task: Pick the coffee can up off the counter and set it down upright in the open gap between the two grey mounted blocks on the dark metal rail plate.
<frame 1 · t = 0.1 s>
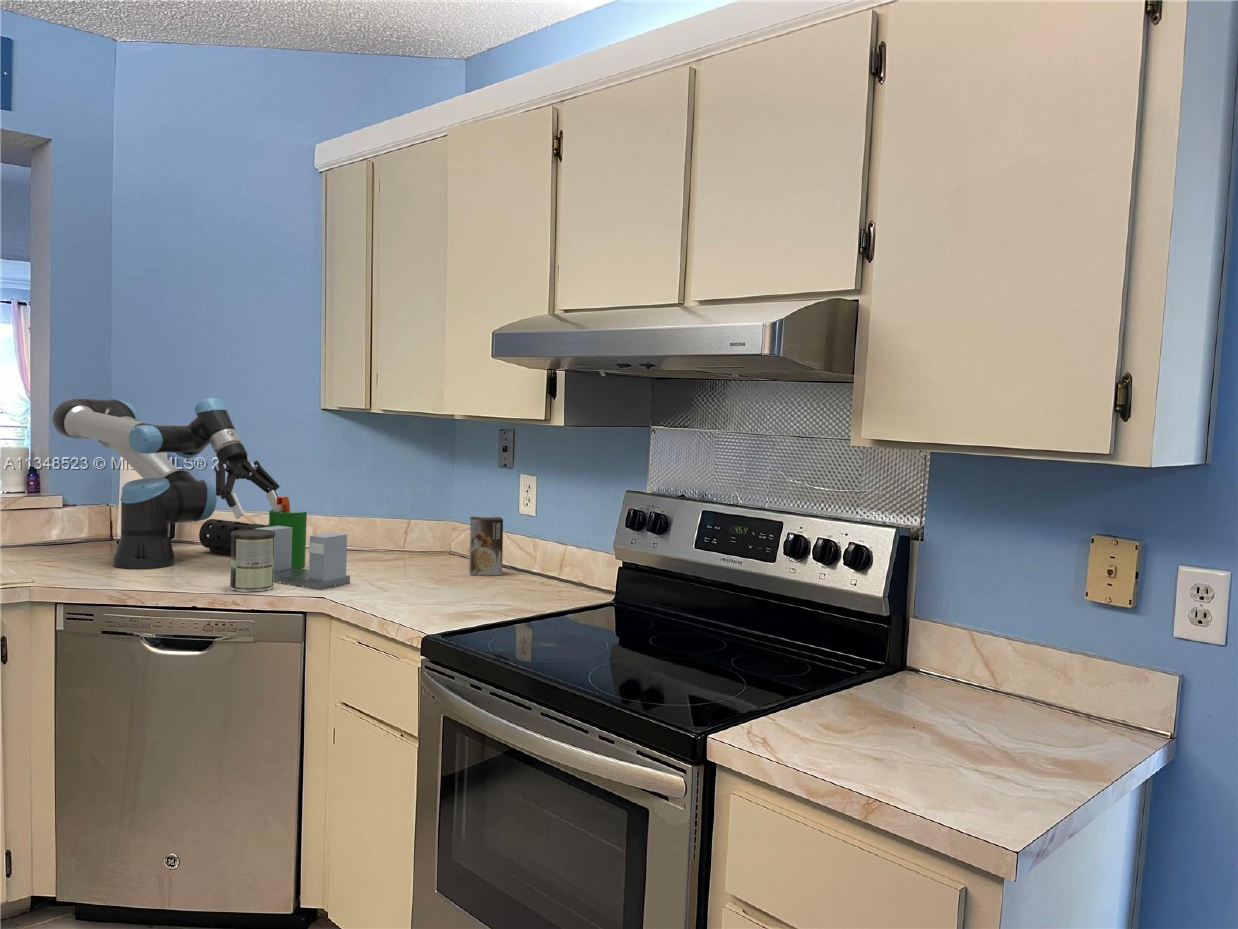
hand: (260, 514, 256), 15 cm above the countertop, tool tilted 35°, fingers open, 13 cm apart
coffee can: (251, 589, 233), on the countertop
rail plate: (299, 580, 244), on the countertop
mounted blocks: (299, 552, 244), on the rail plate, point 8 cm above the countertop
muzzle brake: (245, 557, 278), on the countertop
coffee box: (485, 574, 267), on the countertop
green tall piece: (285, 567, 264), on the countertop
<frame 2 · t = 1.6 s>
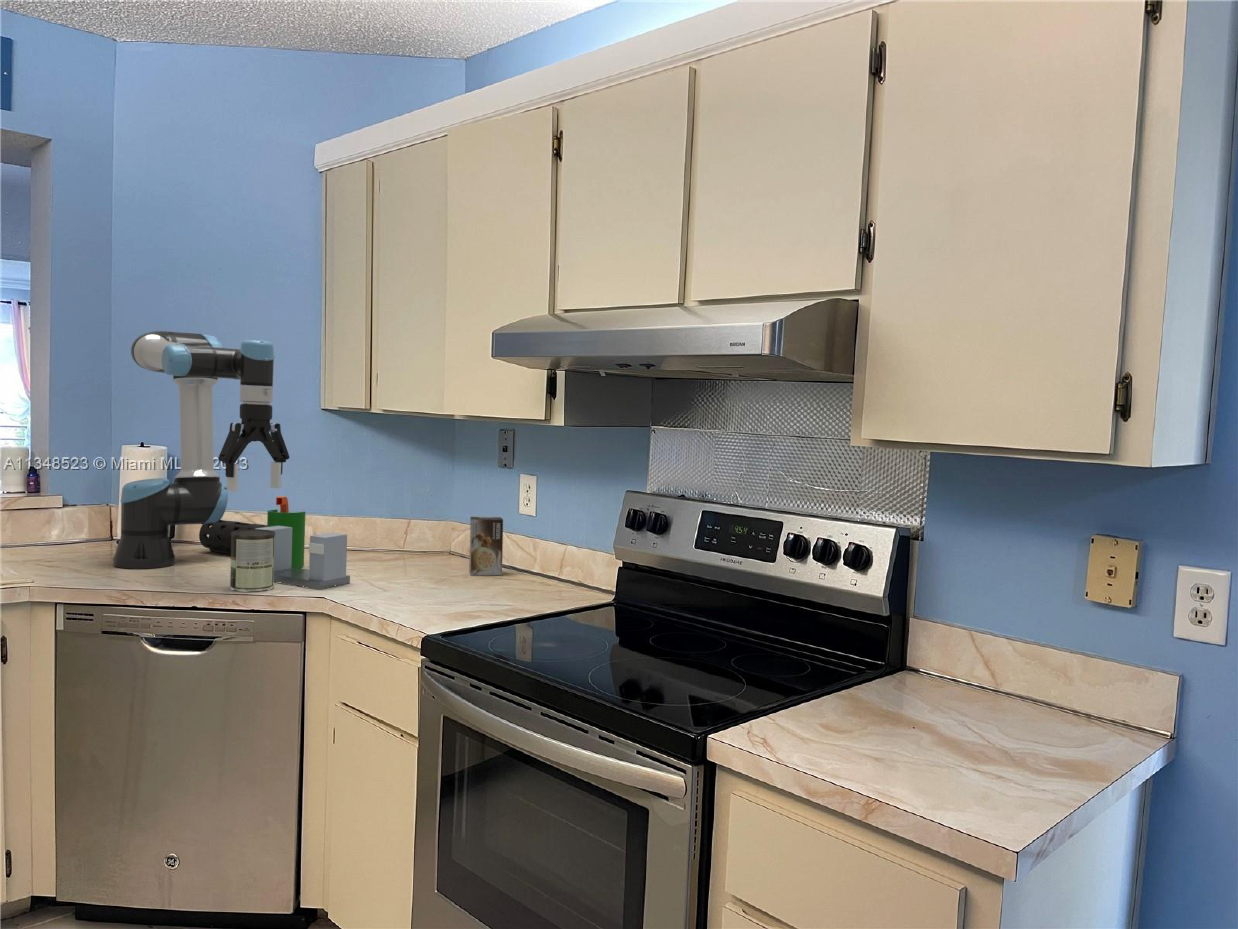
hand: (254, 489, 231), 25 cm above the countertop, tool pointing down, fingers open, 13 cm apart
nothing on the countertop moved.
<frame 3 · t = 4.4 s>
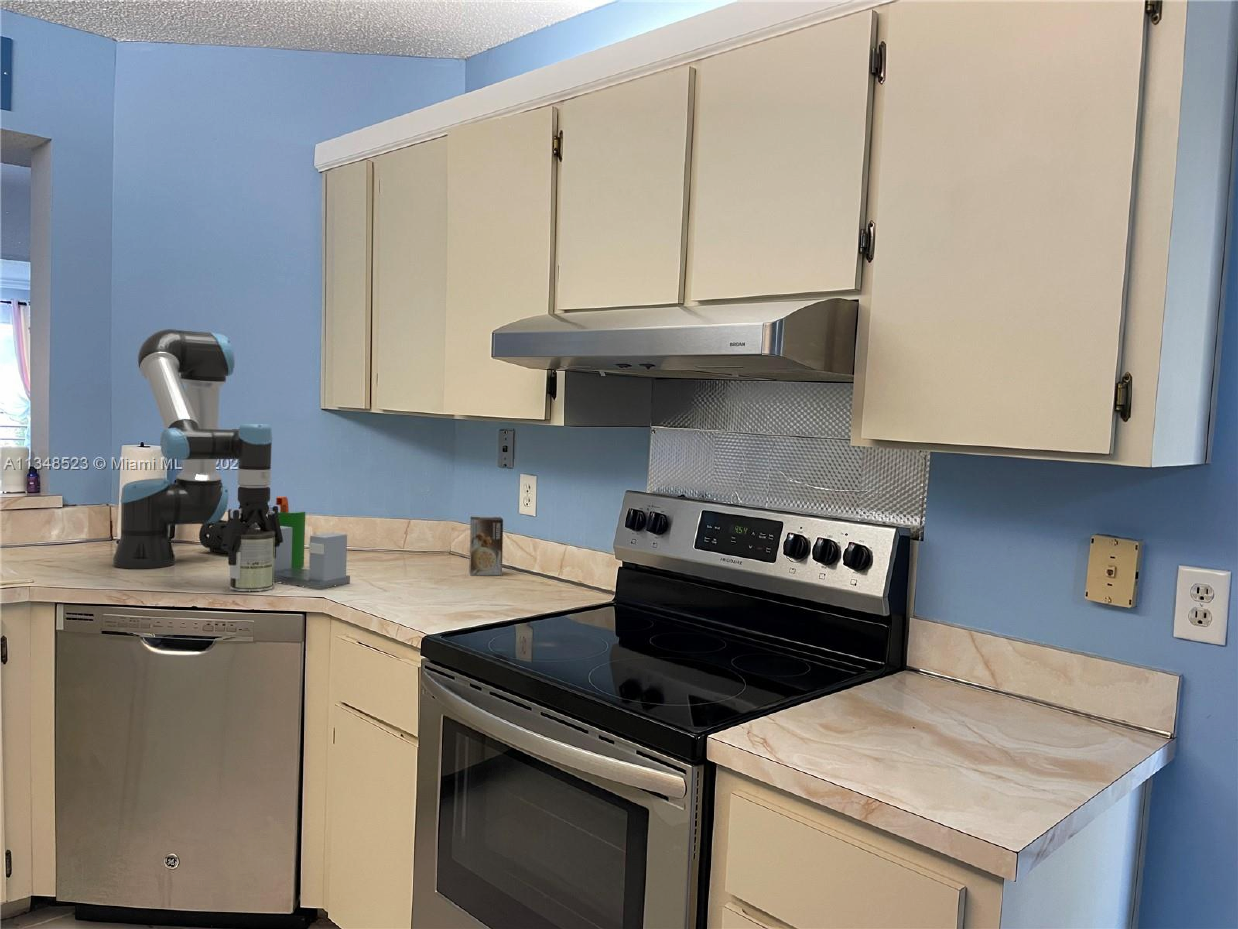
hand: (252, 575, 233), 3 cm above the countertop, tool pointing down, fingers closed on coffee can, 10 cm apart
coffee can: (251, 588, 233), on the countertop, touching gripper
everything else where it was.
when the fingers open (7 cm above the countertop, at t = 12.0 s): coffee can drops 1 cm, resting on rail plate.
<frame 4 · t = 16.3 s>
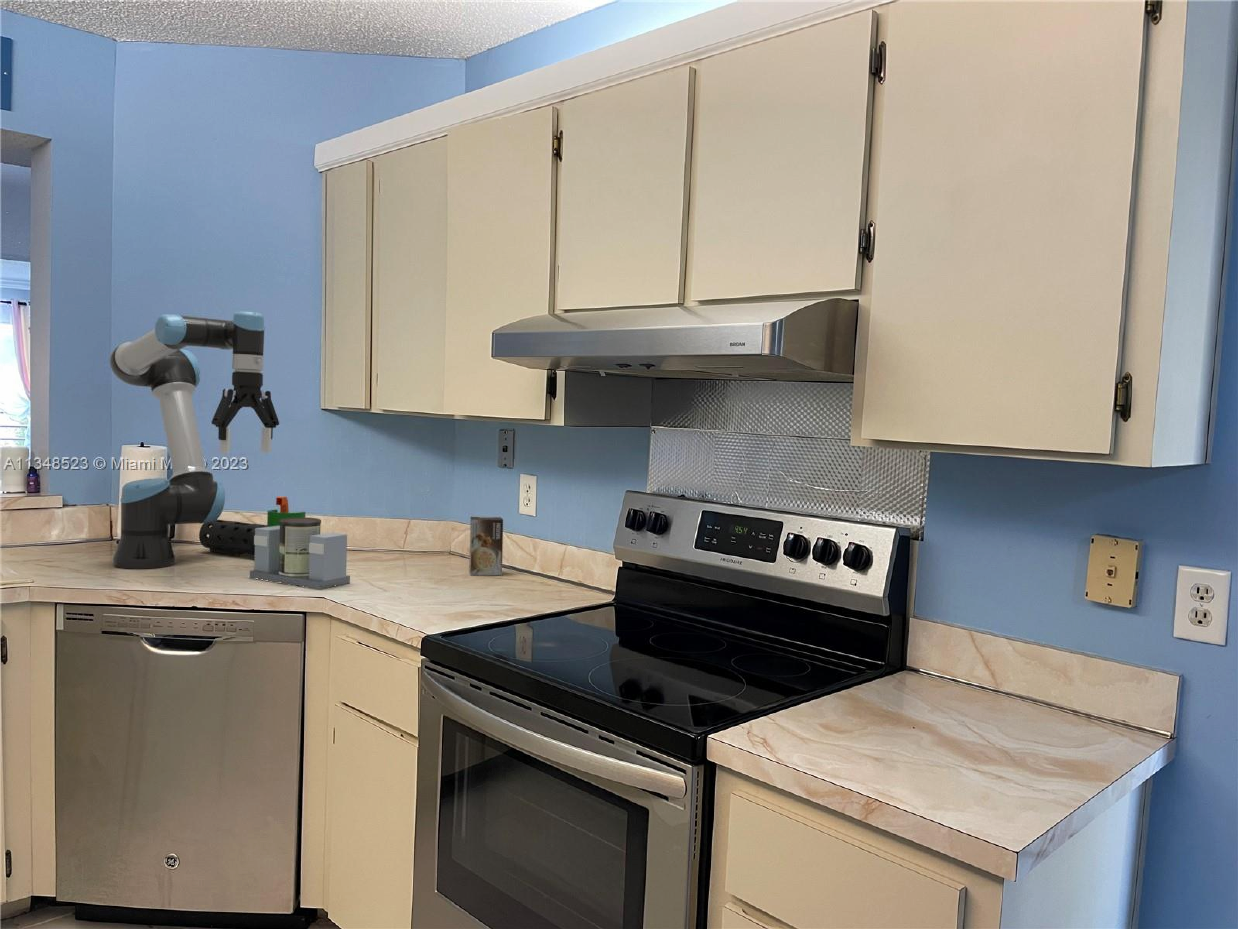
hand: (245, 452, 246), 33 cm above the countertop, tool pointing down, fingers open, 13 cm apart
coffee can: (299, 574, 244), point 2 cm above the countertop, touching rail plate
everything else where it was.
at the end: coffee can inside the target area on the rail plate (0.3 cm from its centre), point 1.8 cm above the rail plate's base; coffee can tilted 0°; the gripper is holding nothing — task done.
